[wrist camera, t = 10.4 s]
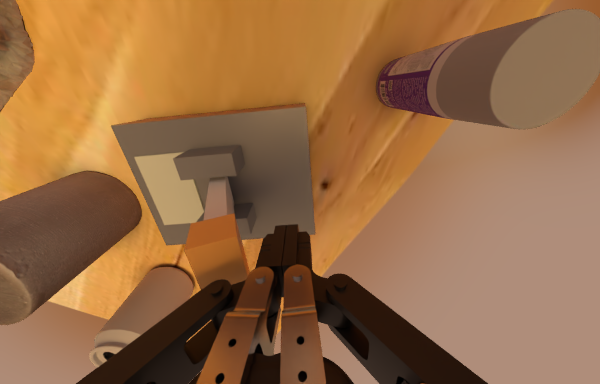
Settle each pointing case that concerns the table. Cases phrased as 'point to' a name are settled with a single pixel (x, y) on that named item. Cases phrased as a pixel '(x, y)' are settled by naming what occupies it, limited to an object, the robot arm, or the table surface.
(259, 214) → the box
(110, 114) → the table surface
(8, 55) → the ceramic cottage
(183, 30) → the table surface
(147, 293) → the can
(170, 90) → the table surface
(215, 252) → the breaker lever
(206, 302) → the robot arm
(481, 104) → the container
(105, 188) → the pillar candle
